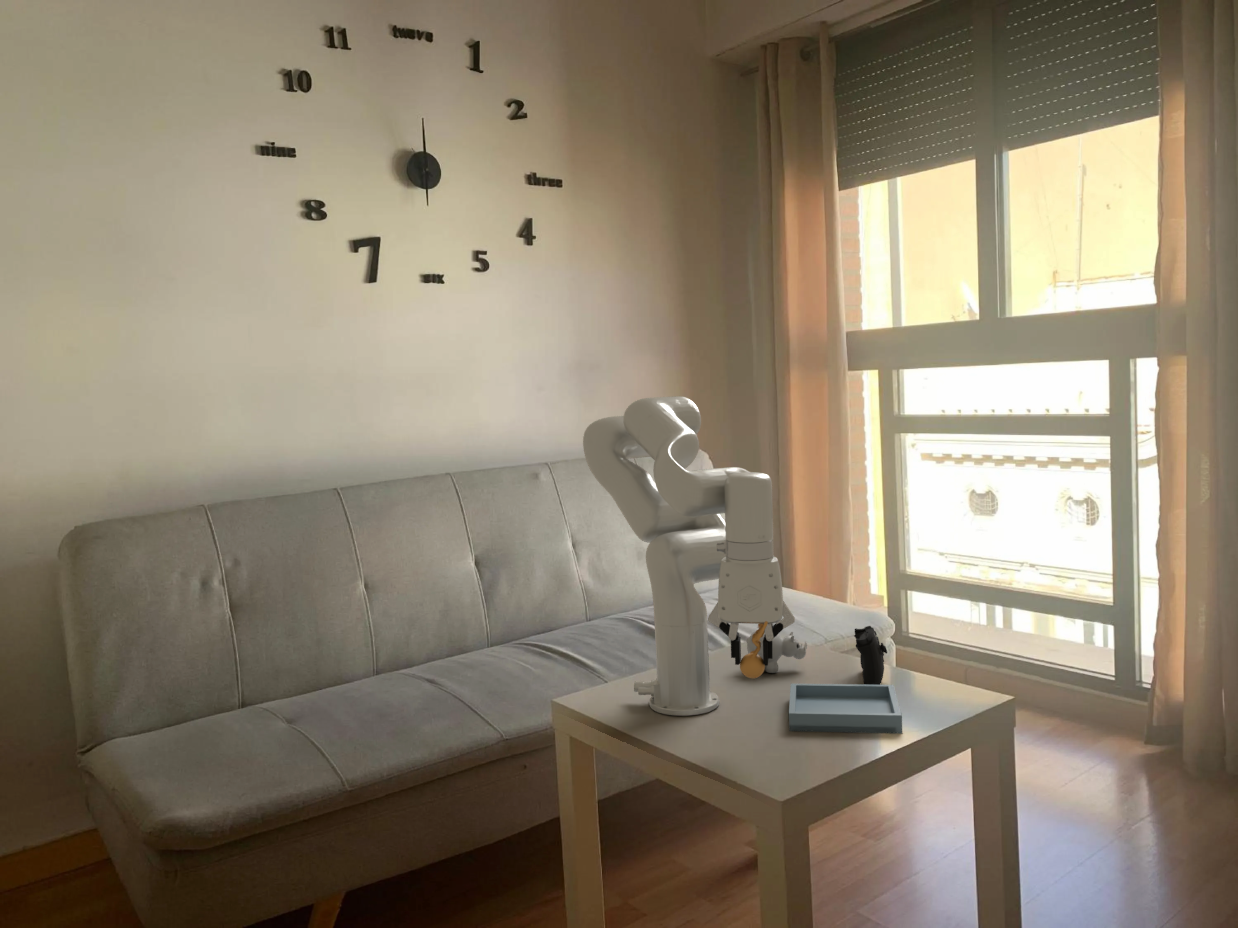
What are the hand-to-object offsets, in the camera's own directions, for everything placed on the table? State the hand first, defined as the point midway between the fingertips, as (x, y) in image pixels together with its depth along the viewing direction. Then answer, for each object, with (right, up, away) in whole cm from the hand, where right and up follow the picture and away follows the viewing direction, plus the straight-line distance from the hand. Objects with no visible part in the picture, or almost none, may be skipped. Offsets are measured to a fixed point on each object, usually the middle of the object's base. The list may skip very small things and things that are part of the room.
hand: (752, 661), depth 156 cm
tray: (+17, -11, +10) cm, 23 cm away
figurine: (+1, -3, 0) cm, 3 cm away
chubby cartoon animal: (+10, -10, +38) cm, 41 cm away
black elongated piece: (+27, -10, +29) cm, 41 cm away
